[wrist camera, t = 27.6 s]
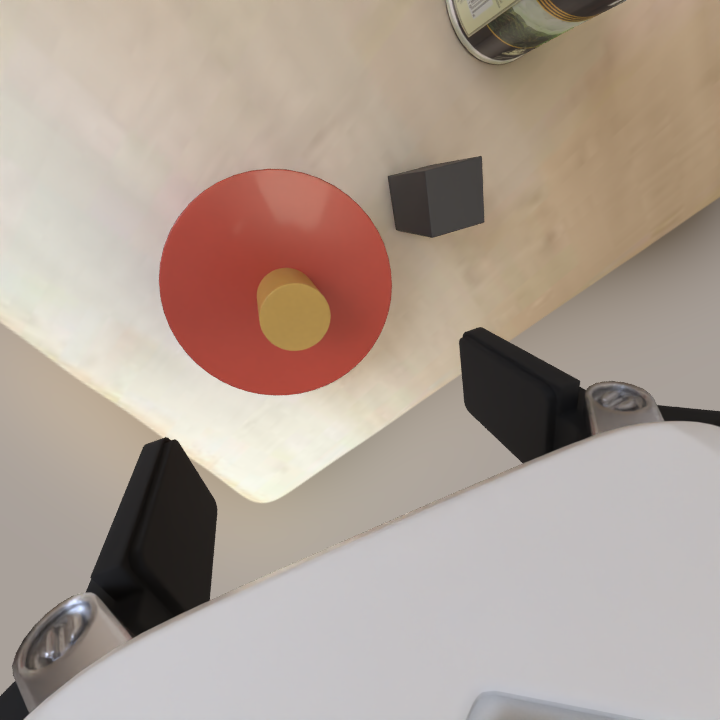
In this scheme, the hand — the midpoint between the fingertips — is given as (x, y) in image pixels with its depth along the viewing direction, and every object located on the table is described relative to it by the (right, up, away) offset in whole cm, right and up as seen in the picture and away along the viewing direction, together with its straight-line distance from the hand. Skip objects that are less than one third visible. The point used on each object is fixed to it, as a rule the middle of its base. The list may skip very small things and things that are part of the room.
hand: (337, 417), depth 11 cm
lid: (-5, +7, +14) cm, 16 cm away
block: (+6, +17, +20) cm, 26 cm away
